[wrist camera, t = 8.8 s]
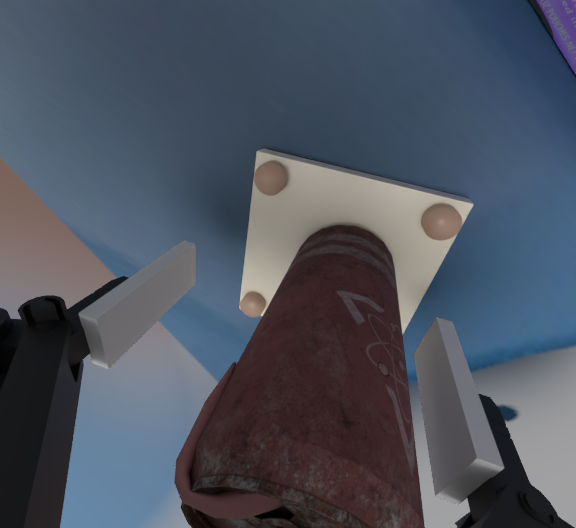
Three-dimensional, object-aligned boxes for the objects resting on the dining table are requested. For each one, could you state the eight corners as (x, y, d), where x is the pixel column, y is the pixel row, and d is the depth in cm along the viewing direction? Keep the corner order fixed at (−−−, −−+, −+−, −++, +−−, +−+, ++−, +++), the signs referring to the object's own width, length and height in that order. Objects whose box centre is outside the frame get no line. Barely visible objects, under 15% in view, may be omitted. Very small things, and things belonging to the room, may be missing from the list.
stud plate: (263, 148, 17) (251, 152, 16) (467, 197, 16) (478, 208, 14) (245, 299, 23) (235, 314, 22) (388, 346, 22) (390, 366, 20)
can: (312, 204, 17) (161, 435, 5) (413, 245, 16) (508, 603, 5) (283, 281, 20) (150, 531, 8) (366, 317, 20) (353, 635, 8)
